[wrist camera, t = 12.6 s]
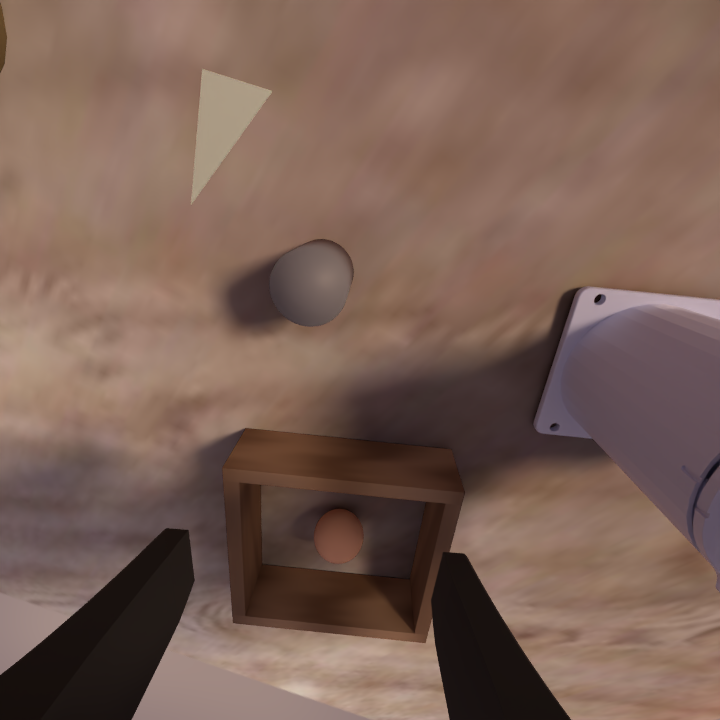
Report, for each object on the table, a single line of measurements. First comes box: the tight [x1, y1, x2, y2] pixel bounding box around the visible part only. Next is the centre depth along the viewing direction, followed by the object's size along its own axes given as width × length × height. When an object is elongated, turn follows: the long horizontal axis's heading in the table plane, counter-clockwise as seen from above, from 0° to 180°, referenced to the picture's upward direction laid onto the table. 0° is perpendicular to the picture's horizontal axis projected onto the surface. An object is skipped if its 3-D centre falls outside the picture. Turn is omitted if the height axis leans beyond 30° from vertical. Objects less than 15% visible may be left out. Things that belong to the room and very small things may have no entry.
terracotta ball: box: [314, 509, 364, 564], centre depth 22 cm, size 3×3×3 cm
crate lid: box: [191, 69, 354, 327], centre depth 16 cm, size 13×13×5 cm
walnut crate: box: [222, 428, 465, 643], centre depth 22 cm, size 12×12×4 cm
